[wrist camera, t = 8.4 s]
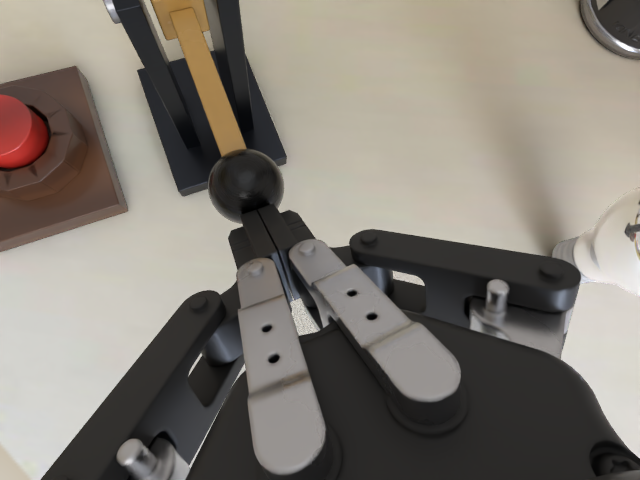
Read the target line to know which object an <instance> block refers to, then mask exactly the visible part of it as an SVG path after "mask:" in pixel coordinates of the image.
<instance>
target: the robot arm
mask: <svg viewBox="0 0 640 480" xmlns="http://www.w3.org/2000/svg"><path fill="white" fill-rule="evenodd" d="M580 6H581V13H582V17H583V20H584V22H585V24H586V26H587V28H588V29H589V31H590V32H591V34H592V35H593V36H594V37H595V38H596V39H597V40H598V41H599V42H600V43H601V44H602V45H603V46H605V47H606V48H607V49H609V50H611V51H612V52H614V53H616V54H619V55H621V56H624V57H627V58H632V59H640V0H581V2H580ZM257 210H258V212H257V211H256V210H253V211H250V212H248V213H245V214H242V215H239V216H240V219H241V221H242V224H243V227H240V228H237V229H234V230H232V231H231V232H230V235H229V237H228V240H229V243H230V246H231V249H232V253H233V256H234V259H235V263H236V266H237V269H238V271H237V274H236V277H237V281H236V282H235V284H234V285H233V286H232V287H231V288H230V289H228V290H227V291H226V292H224V293H222V294H221V295H219V293H217V292H215V291H211V290H207V291H202V292H199V293H196V294H194V295H192V296H190V297H189V298H188V299H186V300H185V301H184V302H183V303H182V305H181V306H180V307H179V308H178V310H177V311H176V312H175V313H174V315H173V316H172V317H171V318H170V320H169V321H168V322H167V323H166V325H165V326H164V327H163V328H162V329H161V331H160V332H159V333H158V334H157V336H156V337H155V338H154V339H153V341H152V342H151V343H150V344H149V346H148V347H147V348H146V349H145V351H144V352H143V353H142V354H141V356H140V357H139V358H138V359H137V361H136V362H135V363H134V364H133V365H132V367H131V368H130V369H129V370H128V372H127V373H126V374H125V375H124V377H123V378H122V379H121V380H120V382H119V383H118V384H117V385H116V387H115V388H114V389H113V390H112V392H111V393H110V394H109V395H108V397H107V398H106V399H105V400H104V402H103V403H102V404H101V405H100V406H99V408H98V409H97V410H96V411H95V413H94V414H93V415H92V416H91V418H90V419H89V420H88V421H87V423H86V424H85V425H84V426H83V428H82V429H81V430H80V431H79V433H78V434H77V435H76V436H75V438H74V439H73V440H72V441H71V443H70V444H69V445H68V446H67V447H66V449H65V450H64V451H63V452H62V454H61V455H60V456H59V457H58V459H57V460H56V461H55V462H54V464H53V465H52V466H51V467H50V469H49V470H48V471H47V472H46V474H45V475H44V476H43V477H42V479H41V480H640V458H638V457H637V456H636V455H635V454H634V453H633V452H631V451H630V450H629V448H628V447H627V446H626V445H625V444H624V443H623V441H622V440H621V439H620V438H619V436H618V435H617V434H616V432H615V431H614V429H613V428H612V426H611V425H610V424H609V422H608V420H607V419H606V417H605V415H604V413H603V411H602V409H601V407H600V405H599V403H598V400H597V398H596V396H595V394H594V392H593V391H592V389H591V388H590V386H589V385H588V383H587V382H586V381H585V380H584V379H583V378H582V376H581V375H580V374H579V373H578V372H576V371H575V370H574V369H573V368H572V367H571V366H569V365H568V364H566V363H565V362H564V361H562V360H561V352H562V349H563V346H564V342H565V338H566V334H567V331H568V327H569V323H570V319H571V316H572V312H573V308H574V304H575V300H576V297H577V293H578V289H579V285H580V281H581V273H580V272H579V270H578V269H577V268H576V267H575V266H574V265H572V264H571V263H569V262H567V261H564V260H562V259H558V258H553V257H547V256H540V255H534V254H528V253H521V252H515V251H509V250H502V249H496V248H490V247H483V246H477V245H471V244H464V243H458V242H452V241H445V240H439V239H433V238H426V237H420V236H414V235H407V234H401V233H395V232H388V231H382V230H375V229H370V230H364V231H361V232H358V233H356V234H355V235H353V236H352V237H351V239H350V242H349V244H350V246H344V247H337V248H331V247H328V246H327V245H326V244H325V243H324V242H323V241H321V240H317V239H316V238H315V237H314V236H313V234H312V233H311V231H310V230H309V229H308V227H307V226H306V225H305V223H304V222H303V221H302V219H301V217H300V216H299V215H298V213H295V212H293V211H291V210H288V211H285V212H282V213H279V211H278V209H277V208H276V206H275V205H274V203H273V204H270V205H268V206H265V207H262V208H259V209H257ZM392 270H393V271H397V272H402V273H407V274H411V275H415V276H418V277H419V278H421V279H422V280H423V282H424V284H425V286H422V285H418V284H413V283H409V282H405V281H400V280H396V279H393V272H392ZM289 289H290V290H289ZM290 291H291V293H290ZM291 294H292V296H293V298H294V300H296V299H298V298H301V299H302V301H303V304H304V308H305V311H306V313H307V315H308V316H309V318H310V320H311V321H312V323H313V324H314V326H315V327H316V329H317V331H318V332H315V333H311V334H306V335H301V336H299V335H298V332H297V329H296V326H295V323H294V320H293V317H292V314H291V313H292V308H291V305H290V302H291V301H293V299H292V296H291ZM200 353H202V357H201V358H200V360H199V361H198V363H197V364H196V366H195V368H194V369H193V371H192V372H191V374H190V375H189V371H190V369H191V367H192V365H193V364H194V362H195V361H196V359H197V358H198V356H199V355H200ZM244 363H245V367H246V370H245V371H244V372H243V373H242V374H241V375H240V377H239V378H238V379H237V380H236V382H235V383H234V381H235V379H236V378H237V376H238V374H239V372H240V370H241V368H242V366H243V365H244ZM188 375H189V377H188ZM233 383H234V384H233ZM232 385H233V386H232ZM231 387H232V388H231ZM227 394H228V395H227ZM226 396H227V397H226ZM225 398H226V399H225ZM224 400H225V401H224ZM223 402H224V403H223ZM222 404H223V405H222ZM221 406H222V407H221ZM220 407H221V409H220ZM219 409H220V411H219ZM218 411H219V413H218ZM217 413H218V415H217ZM216 415H217V417H216ZM215 417H216V419H215ZM214 419H215V421H214V423H213V425H212V427H211V429H210V431H209V433H208V435H207V437H206V439H205V441H204V443H203V445H202V447H201V449H200V451H199V453H198V455H197V457H196V459H195V461H194V463H193V465H192V467H191V469H190V467H189V465H190V463H191V461H192V459H193V458H194V456H195V454H196V452H197V450H198V448H199V446H200V445H201V443H202V441H203V439H204V437H205V435H206V433H207V432H208V430H209V428H210V426H211V424H212V422H213V420H214Z"/></svg>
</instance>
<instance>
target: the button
mask: <svg viewBox="0 0 640 480" xmlns="http://www.w3.org/2000/svg"><path fill="white" fill-rule="evenodd" d="M48 140H49V133H48V129H47V126H46V124H45V123H44V121H43V120H42V119H41V118H40V117H39V116H38V115H36V114H35V113H34V112H33V111H32V110H31V109H30V108H28V107H27V106H26V105H25V104H24V103H23V102H21V101H20V100H18V99H16V98H14V97H11V96H7V95H0V168H6V169H14V168H20V167H24V166H27V165H29V164H31V163H32V162H34V161H35V160H37V159H38V158H39V157H40V156H41V155H42V154H43V152H44V151H45V149H46V147H47V145H48Z"/></svg>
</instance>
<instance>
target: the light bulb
mask: <svg viewBox="0 0 640 480" xmlns="http://www.w3.org/2000/svg"><path fill="white" fill-rule="evenodd" d="M552 257H553V258H558V259H562V260H564V261H567V262H569V263H571V264H572V265H574V266H575V267H576V268H577V269H578V270H579V272H580V273H581V281H580V283H588V282H599V283H603V284H615V285H617V286H618V287H620V288H622V289H623V290H625V291H627V292H630V293H632V294H634V295H636V296H639V297H640V187H638V188H635V189H633V190H631V191H629V192H627V193H625V194H623V195H622V196H621V197H619V198H618V199H617V200H615V201H614V202H613V203H612V204H610V205H609V206H608V207H607V209H606V210H605V211H604V212H603V214H602V215H601V216H600V218H599V219H598V221H597V223H596V225H595V226H594V227H593V228H591V229H589V230H587V231H586V232H584V233H583V234H582V235H580V236H579V237H575V238H572V239H568V240H564V241H562V242H560V243H558V244H557V245H556V246H555V248H554V250H553V253H552Z"/></svg>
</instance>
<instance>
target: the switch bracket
mask: <svg viewBox="0 0 640 480" xmlns="http://www.w3.org/2000/svg"><path fill="white" fill-rule="evenodd" d="M103 2H104V4H105V6H106V9H107V11H108V13H109V15H110V17H111V19H112V20H113V22H114V23H115V24H117V23H122V25H123V27H124V29H125V30H126V32H127V34H128V36H129V38H130V40H131V42H132V44H133V46H134V48H135V50H136V52H137V54H138V56H139V57H140V59H141V61H142V63H143V65H144V67H145V68H143V69H139V70H137V72H138V75H139V78H140V81H141V84H142V86H143V89H144V92H145V95H146V98H147V101H148V104H149V107H150V110H151V113H152V116H153V119H154V121H155V124H156V127H157V130H158V133H159V136H160V139H161V142H162V145H163V148H164V151H165V154H166V156H167V159H168V162H169V165H170V168H171V171H172V174H173V177H174V180H175V183H176V186H177V188H178V191H179V192H180V194H181V195H182V196H186V195H189V194H192V193H196V192H199V191H202V190H205V189H208V180H209V175H210V172H211V170H212V168H213V166H214V165H215V163H216V162H217V161H218V160H219V159H220V158H221V154H220V151H219V148H218V146H217V143H216V140H215V138H214V135H213V132H212V129H211V127H210V124H209V121H208V119H207V116H206V113H205V111H204V108H203V105H202V102H201V100H200V97H199V94H198V92H197V89H196V86H195V83H194V81H193V78H192V75H191V73H190V70H189V67H188V65H187V62H186V59H185V58H183V59H179V60H175V61H171V62H169V60H168V58H167V56H166V53H165V51H164V48H163V46H162V44H161V41H160V39H159V36H158V34H157V32H156V29H155V27H154V24H153V22H152V19H151V17H150V15H149V12H148V10H147V7H146V5H145V3H144V0H103ZM204 4H205V8H206V13H207V17H208V22H209V26H210V33H211V38H212V42H213V46H214V51H211V52H210V53H211V56H212V59H213V61H214V64H215V66H216V69H217V72H218V74H219V77H220V80H221V82H222V85H223V87H224V90H225V93H226V95H227V98H228V101H229V103H230V106H231V109H232V111H233V114H234V116H235V119H236V122H237V124H238V127H239V130H240V132H241V135H242V137H243V140H244V143H245V145H246V148H247V149H252V150H256V151H259V152H261V153H263V154H265V155H267V156H268V157H269V158H271V159H272V160H273V161H274V162H275V164H276V165H277V166H280V165H283V164H286V157H287V156H286V154H285V151H284V149H283V146H282V144H281V141H280V139H279V136H278V134H277V131H276V129H275V127H274V124H273V122H272V119H271V117H270V114H269V112H268V109H267V107H266V104H265V102H264V99H263V97H262V94H261V92H260V89H259V87H258V84H257V82H256V79H255V77H254V74H253V72H252V69H251V67H250V64H249V62H248V59H247V57H246V54H245V49H244V40H243V32H242V24H241V15H240V7H239V0H204Z"/></svg>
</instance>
